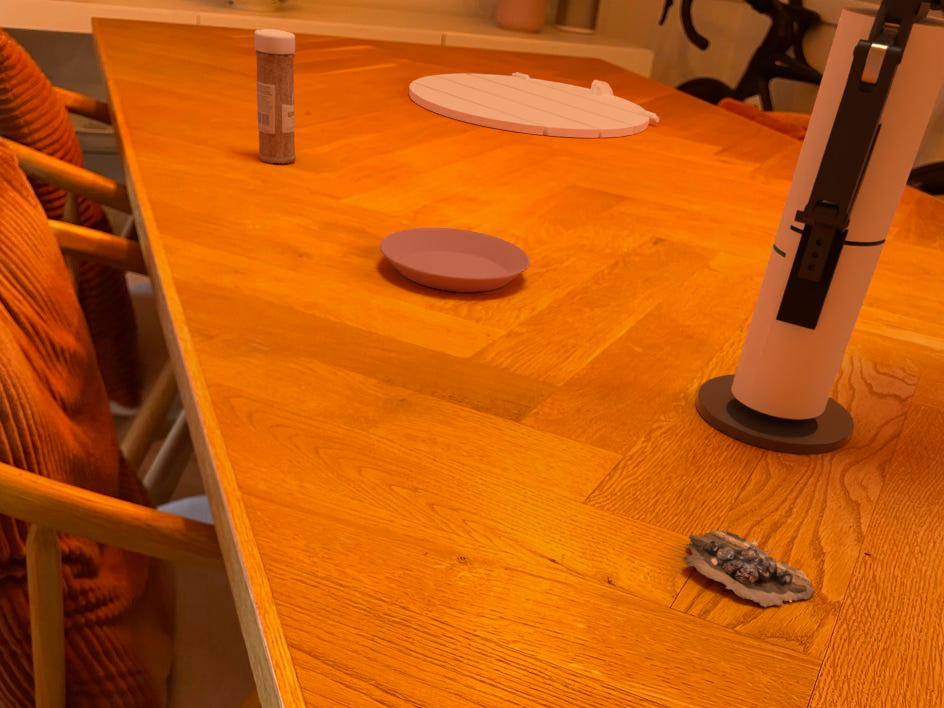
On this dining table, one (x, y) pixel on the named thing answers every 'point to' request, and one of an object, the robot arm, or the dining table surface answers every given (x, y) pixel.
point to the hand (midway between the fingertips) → (807, 307)
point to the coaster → (772, 422)
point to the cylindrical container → (903, 125)
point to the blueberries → (747, 569)
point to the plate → (454, 258)
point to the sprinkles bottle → (275, 95)
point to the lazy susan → (531, 105)
